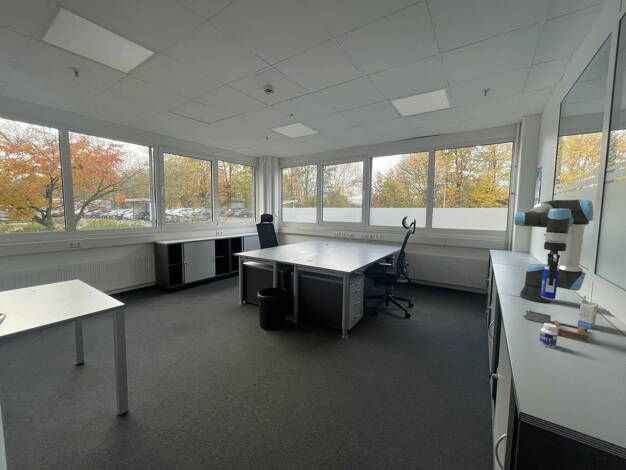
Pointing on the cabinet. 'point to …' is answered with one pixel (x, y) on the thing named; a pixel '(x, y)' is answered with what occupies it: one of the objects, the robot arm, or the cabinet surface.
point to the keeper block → (572, 335)
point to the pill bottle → (548, 335)
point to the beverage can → (545, 294)
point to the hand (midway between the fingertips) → (548, 290)
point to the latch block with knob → (538, 316)
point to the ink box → (587, 313)
